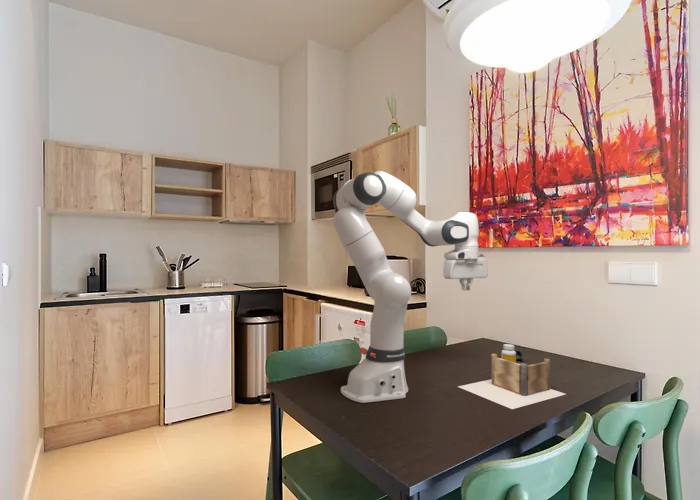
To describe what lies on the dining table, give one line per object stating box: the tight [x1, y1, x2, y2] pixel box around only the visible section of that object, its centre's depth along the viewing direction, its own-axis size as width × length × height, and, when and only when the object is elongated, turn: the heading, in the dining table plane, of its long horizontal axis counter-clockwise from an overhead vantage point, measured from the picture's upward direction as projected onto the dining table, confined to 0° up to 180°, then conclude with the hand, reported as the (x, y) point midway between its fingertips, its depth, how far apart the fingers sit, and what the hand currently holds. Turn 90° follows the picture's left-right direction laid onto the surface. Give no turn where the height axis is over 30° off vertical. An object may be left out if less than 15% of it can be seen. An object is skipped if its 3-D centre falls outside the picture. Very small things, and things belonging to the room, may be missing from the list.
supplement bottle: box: [500, 343, 517, 363], centre depth 158 cm, size 5×5×10 cm
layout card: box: [457, 378, 567, 410], centre depth 133 cm, size 26×22×1 cm
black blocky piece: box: [514, 348, 531, 364], centre depth 173 cm, size 12×7×5 cm, turn 50°
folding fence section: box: [490, 353, 521, 393], centre depth 135 cm, size 11×2×10 cm, turn 29°
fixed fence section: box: [520, 358, 551, 396], centre depth 132 cm, size 14×2×10 cm, turn 120°
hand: (466, 290), depth 155 cm, fingers closed
